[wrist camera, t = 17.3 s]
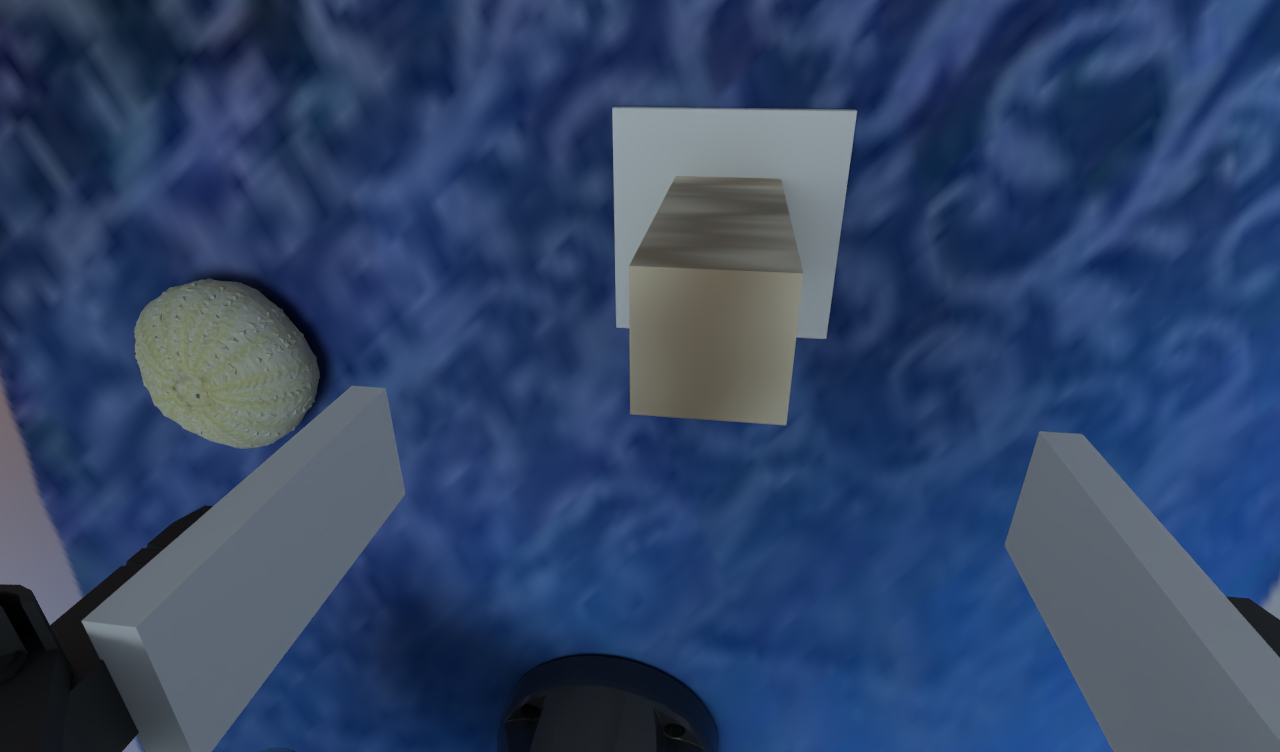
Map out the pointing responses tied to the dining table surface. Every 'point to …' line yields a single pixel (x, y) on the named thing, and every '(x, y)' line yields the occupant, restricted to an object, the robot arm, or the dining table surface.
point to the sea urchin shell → (225, 363)
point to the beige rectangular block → (715, 303)
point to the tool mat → (742, 148)
